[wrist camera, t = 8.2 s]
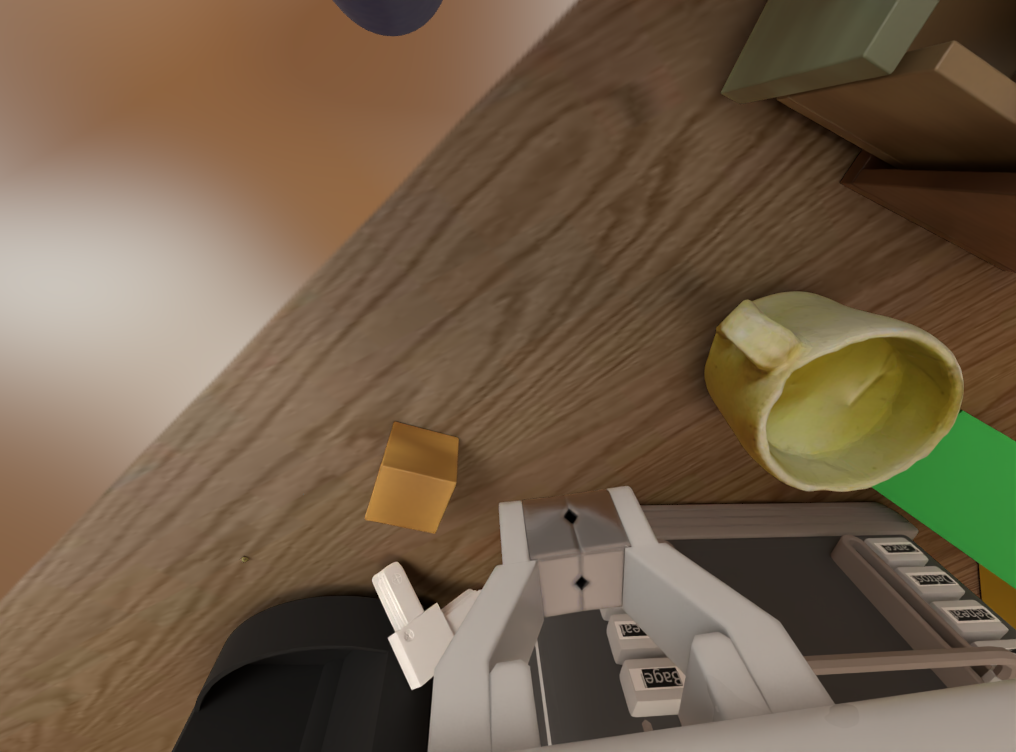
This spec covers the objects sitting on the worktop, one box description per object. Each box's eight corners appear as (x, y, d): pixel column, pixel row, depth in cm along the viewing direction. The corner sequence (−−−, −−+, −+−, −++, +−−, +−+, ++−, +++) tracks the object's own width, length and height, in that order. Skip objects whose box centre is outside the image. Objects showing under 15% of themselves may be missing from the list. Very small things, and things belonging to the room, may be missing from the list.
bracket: (962, 410, 29) (932, 400, 34) (870, 486, 31) (856, 465, 37) (1195, 546, 24) (1114, 508, 29) (1060, 621, 27) (1010, 573, 32)
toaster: (914, 457, 32) (1328, 736, 16) (756, 697, 48) (888, 947, 33) (527, 458, 29) (590, 799, 13) (500, 713, 45) (514, 996, 30)
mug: (915, 358, 25) (1040, 472, 17) (746, 425, 31) (779, 535, 23) (819, 194, 22) (914, 236, 14) (652, 300, 28) (652, 374, 20)
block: (378, 470, 28) (364, 520, 25) (394, 420, 27) (381, 465, 23) (440, 484, 29) (435, 534, 26) (459, 437, 28) (457, 483, 24)
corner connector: (442, 535, 37) (450, 528, 36) (489, 621, 34) (499, 616, 34) (362, 582, 31) (369, 575, 30) (411, 690, 28) (421, 686, 28)
